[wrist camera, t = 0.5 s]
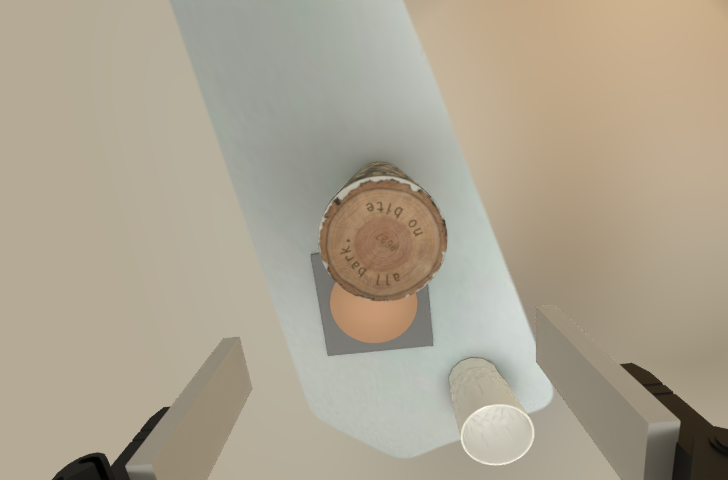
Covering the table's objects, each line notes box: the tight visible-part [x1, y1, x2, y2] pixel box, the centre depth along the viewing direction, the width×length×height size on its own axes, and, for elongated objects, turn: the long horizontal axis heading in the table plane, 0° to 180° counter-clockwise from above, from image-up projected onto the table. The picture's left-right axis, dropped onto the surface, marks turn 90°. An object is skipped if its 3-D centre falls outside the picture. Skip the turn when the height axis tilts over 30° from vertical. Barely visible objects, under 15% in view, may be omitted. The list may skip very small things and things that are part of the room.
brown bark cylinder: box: [318, 162, 447, 302], centre depth 31 cm, size 7×7×25 cm
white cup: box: [449, 358, 534, 465], centre depth 44 cm, size 8×8×10 cm
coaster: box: [311, 253, 433, 356], centre depth 46 cm, size 14×14×1 cm
